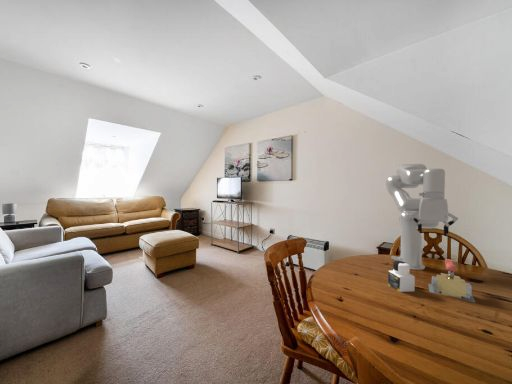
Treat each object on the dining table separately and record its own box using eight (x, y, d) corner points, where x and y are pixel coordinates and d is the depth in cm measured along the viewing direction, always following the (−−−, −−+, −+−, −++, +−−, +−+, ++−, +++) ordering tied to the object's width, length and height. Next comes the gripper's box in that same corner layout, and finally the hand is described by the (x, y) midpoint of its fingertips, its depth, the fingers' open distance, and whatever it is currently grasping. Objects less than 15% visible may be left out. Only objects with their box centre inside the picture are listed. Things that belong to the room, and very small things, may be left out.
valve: (432, 292, 90) (432, 269, 90) (431, 286, 95) (432, 265, 95) (471, 301, 83) (472, 277, 83) (468, 294, 88) (469, 271, 88)
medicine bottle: (387, 285, 98) (388, 259, 97) (402, 284, 99) (402, 259, 98) (399, 293, 91) (399, 265, 90) (414, 292, 91) (415, 265, 91)
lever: (446, 270, 88) (446, 265, 88) (443, 263, 96) (443, 258, 96) (456, 272, 87) (457, 267, 86) (453, 264, 94) (453, 260, 94)
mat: (429, 293, 91) (429, 291, 91) (428, 285, 98) (428, 283, 98) (475, 304, 82) (475, 302, 82) (470, 294, 89) (471, 292, 89)
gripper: (409, 195, 99) (408, 232, 99) (461, 196, 88) (460, 238, 89) (409, 195, 105) (409, 230, 105) (458, 195, 94) (457, 234, 95)
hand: (432, 233), depth 97 cm, fingers open, 8 cm apart
